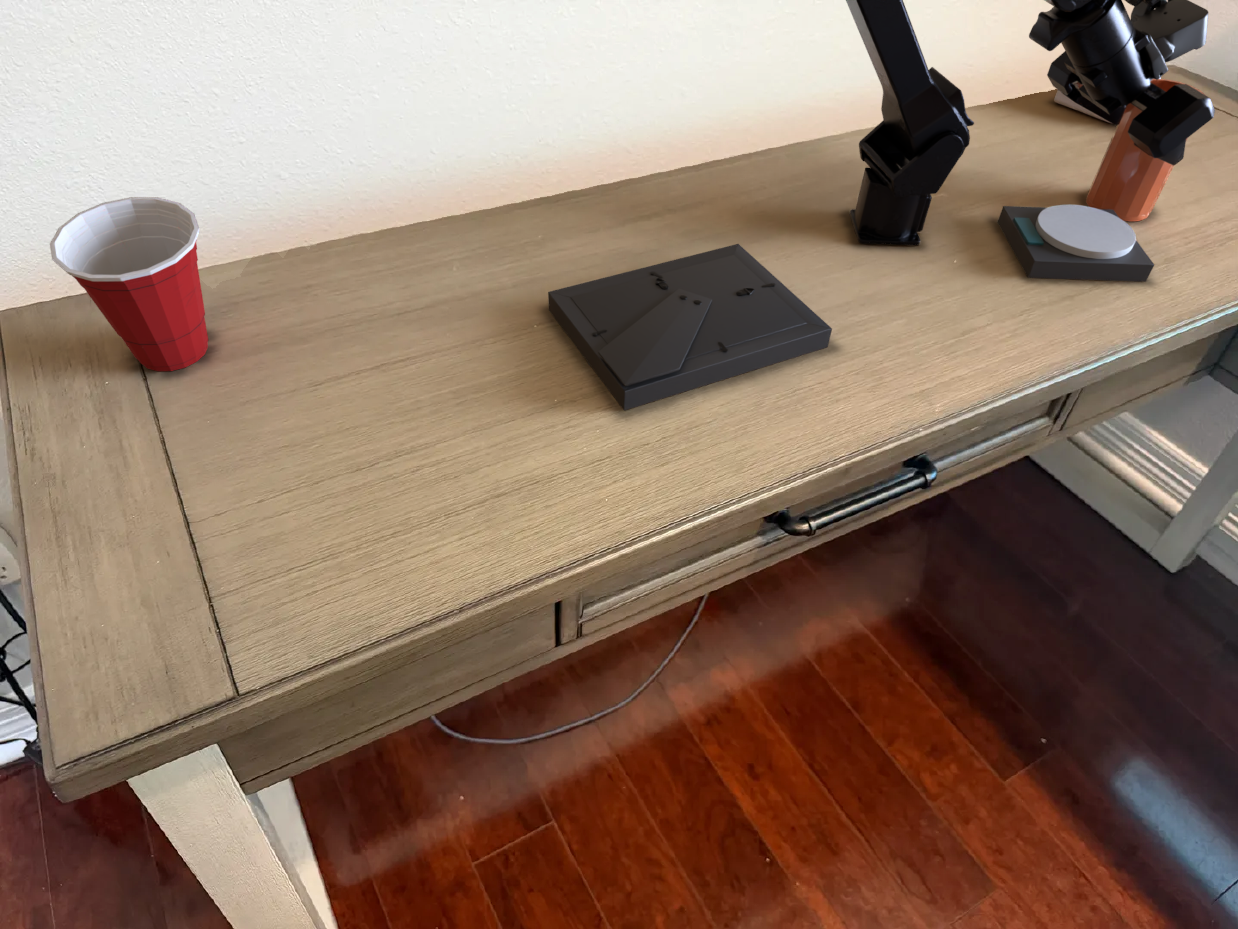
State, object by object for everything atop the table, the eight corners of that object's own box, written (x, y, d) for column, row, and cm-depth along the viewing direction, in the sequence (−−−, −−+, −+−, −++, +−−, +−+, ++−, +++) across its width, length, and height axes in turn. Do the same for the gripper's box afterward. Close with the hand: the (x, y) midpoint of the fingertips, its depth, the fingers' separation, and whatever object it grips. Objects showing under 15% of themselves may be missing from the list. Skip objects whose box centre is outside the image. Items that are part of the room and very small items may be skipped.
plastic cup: (98, 402, 73) (34, 277, 65) (114, 325, 80) (58, 204, 72) (237, 382, 75) (193, 258, 67) (240, 309, 83) (201, 189, 74)
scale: (1027, 277, 90) (1037, 253, 88) (996, 222, 98) (1005, 198, 96) (1145, 281, 90) (1158, 257, 88) (1105, 225, 98) (1116, 202, 96)
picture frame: (624, 410, 74) (827, 347, 81) (625, 384, 72) (833, 321, 79) (548, 310, 84) (736, 261, 91) (547, 284, 82) (739, 236, 89)
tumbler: (1098, 220, 99) (1150, 103, 90) (1077, 190, 104) (1124, 77, 94) (1159, 222, 99) (1218, 106, 90) (1135, 192, 104) (1188, 79, 94)
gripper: (1249, 7, 77) (1287, 122, 86) (1117, -56, 90) (1163, 51, 99) (1131, 105, 81) (1179, 205, 91) (1021, 32, 94) (1074, 126, 103)
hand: (1149, 141), depth 96 cm, fingers open, 9 cm apart
